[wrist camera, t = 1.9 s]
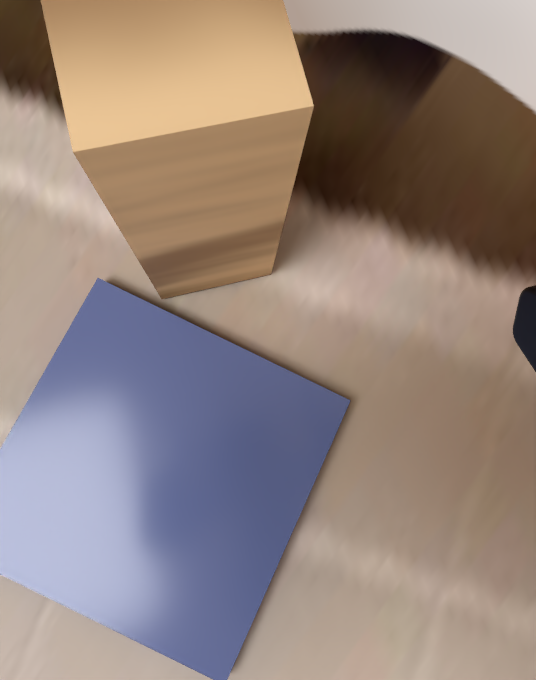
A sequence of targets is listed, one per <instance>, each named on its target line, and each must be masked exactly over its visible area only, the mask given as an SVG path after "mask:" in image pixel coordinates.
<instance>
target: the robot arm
mask: <svg viewBox="0 0 536 680" xmlns="http://www.w3.org/2000/svg"><path fill="white" fill-rule="evenodd" d="M513 335H514V338H515V341H516V343H517V344H518V346H519V347H520V349H521V350H522V352H523V353H524V355H525V356H526V358H527V360H528V361H529V363H530V364H531V366H532V367H533V369H534V370H535V372H536V285H535V286H531V287H528V288H526V289H524V290H523V291H522V293H521V294H520V297H519V302H518V306H517V311H516V316H515V320H514V325H513Z"/></svg>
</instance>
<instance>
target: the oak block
mask: <svg viewBox="0 0 536 680" xmlns="http://www.w3.org/2000/svg"><path fill="white" fill-rule="evenodd" d="M41 3H42V8H43V13H44V17H45V22H46V27H47V32H48V36H49V41H50V46H51V50H52V55H53V60H54V65H55V69H56V74H57V79H58V83H59V88H60V93H61V98H62V102H63V107H64V112H65V116H66V121H67V126H68V131H69V135H70V140H71V145H72V149H73V153H74V154H75V156H76V158H77V159H78V161H79V163H80V164H81V166H82V168H83V169H84V171H85V173H86V174H87V176H88V178H89V179H90V181H91V183H92V184H93V186H94V188H95V189H96V191H97V193H98V194H99V196H100V198H101V199H102V201H103V203H104V204H105V206H106V207H107V209H108V211H109V212H110V214H111V216H112V217H113V219H114V221H115V222H116V224H117V226H118V227H119V229H120V231H121V232H122V234H123V236H124V237H125V239H126V241H127V242H128V244H129V246H130V247H131V249H132V251H133V252H134V254H135V256H136V257H137V259H138V261H139V262H140V264H141V266H142V267H143V269H144V270H145V272H146V274H147V275H148V277H149V279H150V280H151V282H152V284H153V285H154V287H155V289H156V290H157V292H158V294H159V295H160V297H161V299H165V298H169V297H173V296H178V295H182V294H187V293H191V292H195V291H200V290H204V289H208V288H213V287H217V286H222V285H226V284H230V283H235V282H239V281H244V280H248V279H252V278H257V277H261V276H265V275H270V274H271V272H272V268H273V265H274V261H275V257H276V253H277V249H278V245H279V241H280V237H281V233H282V229H283V225H284V221H285V217H286V213H287V210H288V206H289V202H290V198H291V194H292V190H293V186H294V182H295V178H296V174H297V170H298V166H299V162H300V158H301V154H302V151H303V147H304V143H305V139H306V135H307V131H308V127H309V123H310V119H311V115H312V111H313V107H314V105H313V101H312V98H311V94H310V91H309V88H308V84H307V81H306V77H305V74H304V70H303V67H302V64H301V60H300V57H299V53H298V50H297V47H296V43H295V40H294V36H293V33H292V29H291V26H290V23H289V19H288V16H287V13H286V9H285V6H284V2H283V0H41Z"/></svg>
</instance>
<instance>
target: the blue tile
mask: <svg viewBox="0 0 536 680" xmlns="http://www.w3.org/2000/svg"><path fill="white" fill-rule="evenodd" d="M349 403H350V400H348V399H346V398H344V397H342V396H340V395H338V394H336V393H334V392H332V391H330V390H328V389H326V388H324V387H322V386H320V385H318V384H315V383H313V382H311V381H309V380H307V379H305V378H303V377H301V376H299V375H297V374H295V373H293V372H291V371H289V370H287V369H285V368H283V367H280V366H278V365H276V364H274V363H272V362H270V361H268V360H266V359H264V358H262V357H260V356H258V355H256V354H254V353H252V352H250V351H248V350H245V349H243V348H241V347H239V346H237V345H235V344H233V343H231V342H229V341H227V340H225V339H223V338H221V337H219V336H217V335H215V334H213V333H210V332H208V331H206V330H204V329H202V328H200V327H198V326H196V325H194V324H192V323H190V322H188V321H186V320H184V319H182V318H180V317H178V316H175V315H173V314H171V313H169V312H167V311H165V310H163V309H161V308H159V307H157V306H155V305H153V304H151V303H149V302H147V301H145V300H143V299H140V298H138V297H136V296H134V295H132V294H130V293H128V292H126V291H124V290H122V289H120V288H118V287H116V286H114V285H112V284H110V283H108V282H105V281H103V280H101V279H99V278H97V280H96V282H95V284H94V285H93V287H92V289H91V291H90V293H89V294H88V296H87V298H86V300H85V301H84V303H83V305H82V307H81V308H80V310H79V312H78V314H77V315H76V317H75V319H74V321H73V322H72V324H71V326H70V328H69V329H68V331H67V333H66V335H65V336H64V338H63V340H62V342H61V343H60V345H59V347H58V349H57V350H56V352H55V354H54V356H53V357H52V359H51V361H50V363H49V364H48V366H47V368H46V370H45V371H44V373H43V375H42V377H41V378H40V380H39V382H38V384H37V385H36V387H35V389H34V391H33V392H32V394H31V396H30V398H29V399H28V401H27V403H26V405H25V406H24V408H23V410H22V412H21V413H20V415H19V417H18V419H17V420H16V422H15V424H14V426H13V427H12V429H11V431H10V433H9V434H8V436H7V438H6V440H5V441H4V443H3V445H2V447H1V448H0V575H2V576H4V577H6V578H8V579H10V580H12V581H14V582H16V583H18V584H20V585H22V586H24V587H27V588H29V589H31V590H33V591H35V592H37V593H39V594H41V595H43V596H45V597H47V598H49V599H51V600H53V601H55V602H57V603H59V604H61V605H63V606H65V607H67V608H69V609H71V610H73V611H75V612H77V613H79V614H81V615H83V616H85V617H87V618H90V619H92V620H94V621H96V622H98V623H100V624H102V625H104V626H106V627H108V628H110V629H112V630H114V631H116V632H118V633H120V634H122V635H124V636H126V637H128V638H130V639H132V640H134V641H136V642H138V643H140V644H142V645H144V646H146V647H148V648H150V649H152V650H155V651H157V652H159V653H161V654H163V655H165V656H167V657H169V658H171V659H173V660H175V661H177V662H179V663H181V664H183V665H185V666H187V667H189V668H191V669H193V670H195V671H197V672H199V673H201V674H203V675H205V676H207V677H209V678H211V679H213V680H227V679H228V676H229V674H230V672H231V670H232V667H233V665H234V663H235V661H236V658H237V656H238V654H239V652H240V649H241V647H242V645H243V643H244V640H245V638H246V636H247V634H248V631H249V629H250V627H251V624H252V622H253V620H254V618H255V615H256V613H257V611H258V609H259V606H260V604H261V602H262V600H263V597H264V595H265V593H266V591H267V588H268V586H269V584H270V582H271V579H272V577H273V575H274V573H275V570H276V568H277V566H278V563H279V561H280V559H281V557H282V554H283V552H284V550H285V548H286V545H287V543H288V541H289V539H290V536H291V534H292V532H293V530H294V527H295V525H296V523H297V521H298V518H299V516H300V514H301V512H302V509H303V507H304V505H305V503H306V500H307V498H308V496H309V493H310V491H311V489H312V487H313V484H314V482H315V480H316V478H317V475H318V473H319V471H320V469H321V466H322V464H323V462H324V460H325V457H326V455H327V453H328V451H329V448H330V446H331V444H332V442H333V439H334V437H335V435H336V432H337V430H338V428H339V426H340V423H341V421H342V419H343V417H344V414H345V412H346V410H347V408H348V405H349Z"/></svg>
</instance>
